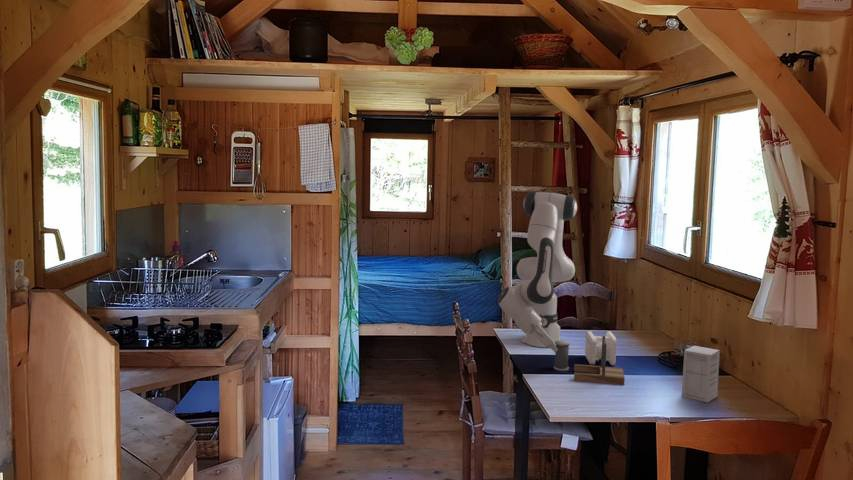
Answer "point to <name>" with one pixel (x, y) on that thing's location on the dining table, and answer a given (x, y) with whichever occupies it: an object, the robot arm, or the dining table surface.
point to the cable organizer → (600, 347)
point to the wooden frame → (599, 371)
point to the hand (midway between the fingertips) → (553, 347)
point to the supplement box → (700, 373)
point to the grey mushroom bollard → (561, 355)
